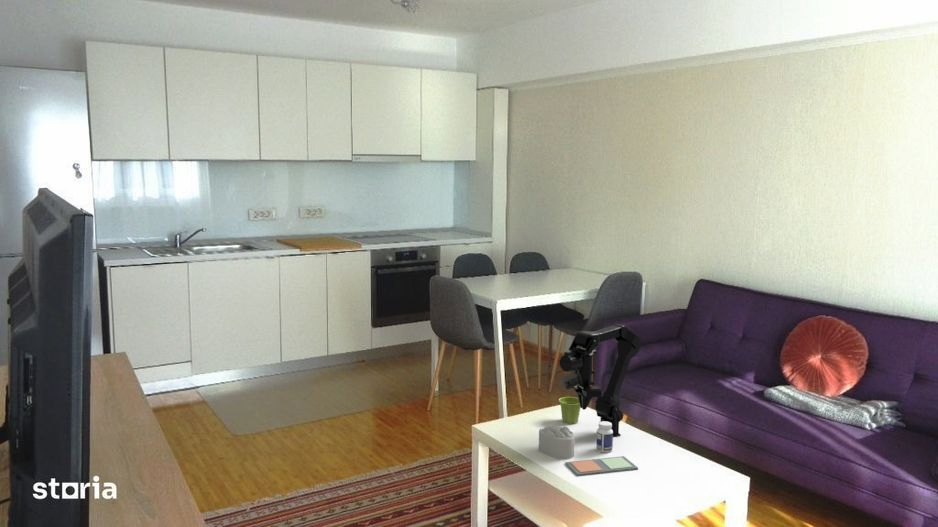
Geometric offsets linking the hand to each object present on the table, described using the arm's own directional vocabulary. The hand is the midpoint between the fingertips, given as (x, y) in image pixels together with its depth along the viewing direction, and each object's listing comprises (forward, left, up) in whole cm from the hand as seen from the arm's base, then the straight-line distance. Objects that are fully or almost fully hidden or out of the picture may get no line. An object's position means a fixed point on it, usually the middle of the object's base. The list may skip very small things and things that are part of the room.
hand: (583, 408), depth 259 cm
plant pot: (-5, -22, -13) cm, 26 cm away
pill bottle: (-5, +8, -13) cm, 16 cm away
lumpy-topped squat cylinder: (+12, +6, -13) cm, 19 cm away
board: (+2, +21, -13) cm, 25 cm away
